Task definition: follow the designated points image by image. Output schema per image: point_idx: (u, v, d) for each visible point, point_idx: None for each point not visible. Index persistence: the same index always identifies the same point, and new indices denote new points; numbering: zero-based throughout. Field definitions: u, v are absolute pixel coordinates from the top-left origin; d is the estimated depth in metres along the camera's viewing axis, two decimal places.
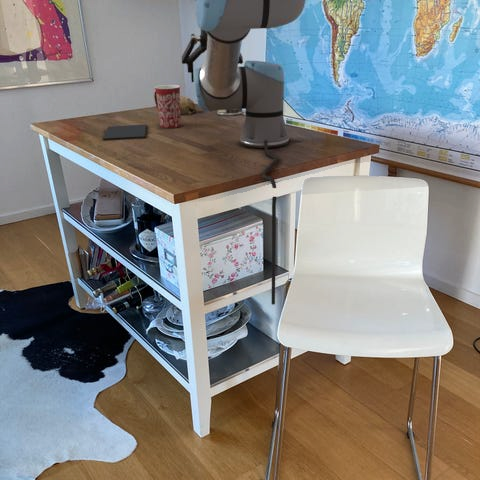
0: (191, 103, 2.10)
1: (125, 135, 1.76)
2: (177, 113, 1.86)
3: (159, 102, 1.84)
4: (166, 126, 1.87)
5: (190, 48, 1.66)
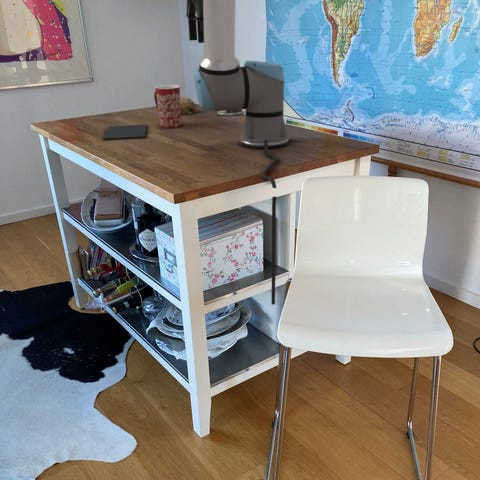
0: (191, 103, 2.10)
1: (125, 135, 1.76)
2: (177, 113, 1.86)
3: (159, 102, 1.84)
4: (166, 126, 1.87)
5: None
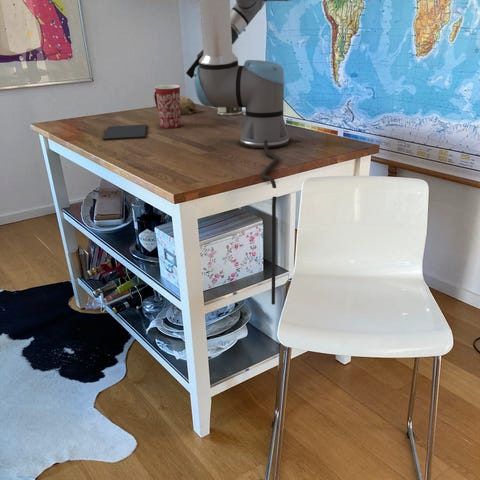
0: (191, 103, 2.10)
1: (125, 135, 1.76)
2: (177, 113, 1.86)
3: (159, 102, 1.84)
4: (166, 126, 1.87)
5: None
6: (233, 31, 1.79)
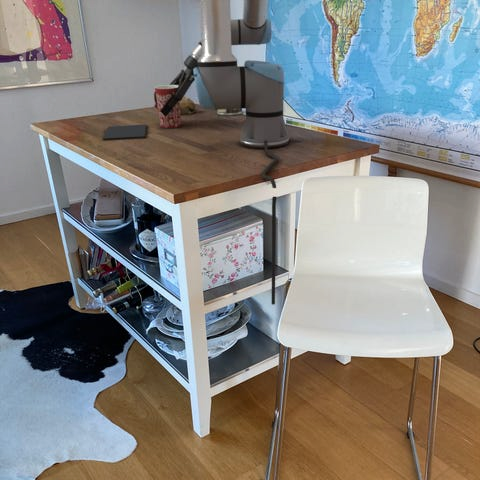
0: (191, 103, 2.10)
1: (125, 135, 1.76)
2: (177, 113, 1.86)
3: (159, 102, 1.84)
4: (166, 126, 1.87)
5: None
6: None
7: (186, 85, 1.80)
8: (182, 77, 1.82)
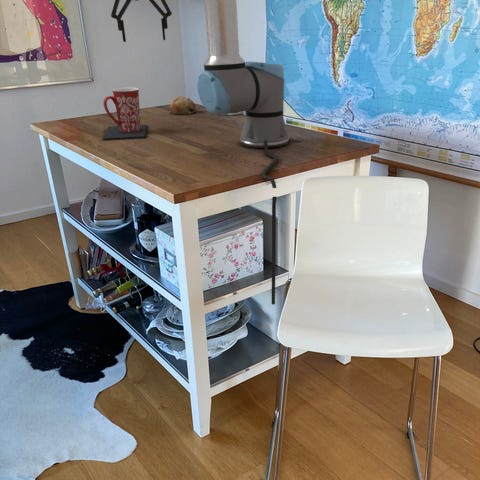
0: (191, 103, 2.10)
1: (125, 135, 1.76)
2: None
3: (131, 105, 1.75)
4: (138, 129, 1.81)
5: None
6: None
7: None
8: None
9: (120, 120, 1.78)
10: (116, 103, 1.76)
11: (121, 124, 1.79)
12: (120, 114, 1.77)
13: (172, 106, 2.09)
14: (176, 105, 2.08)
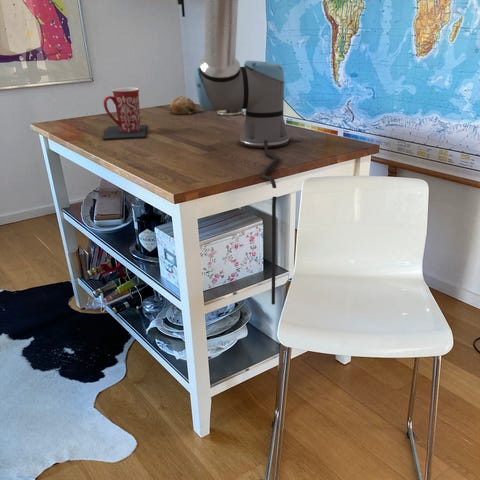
0: (191, 103, 2.10)
1: (125, 135, 1.76)
2: None
3: (131, 105, 1.75)
4: (138, 129, 1.81)
5: None
6: None
7: None
8: None
9: (120, 120, 1.78)
10: (116, 103, 1.76)
11: (121, 124, 1.79)
12: (120, 114, 1.77)
13: (172, 106, 2.09)
14: (176, 104, 2.08)
